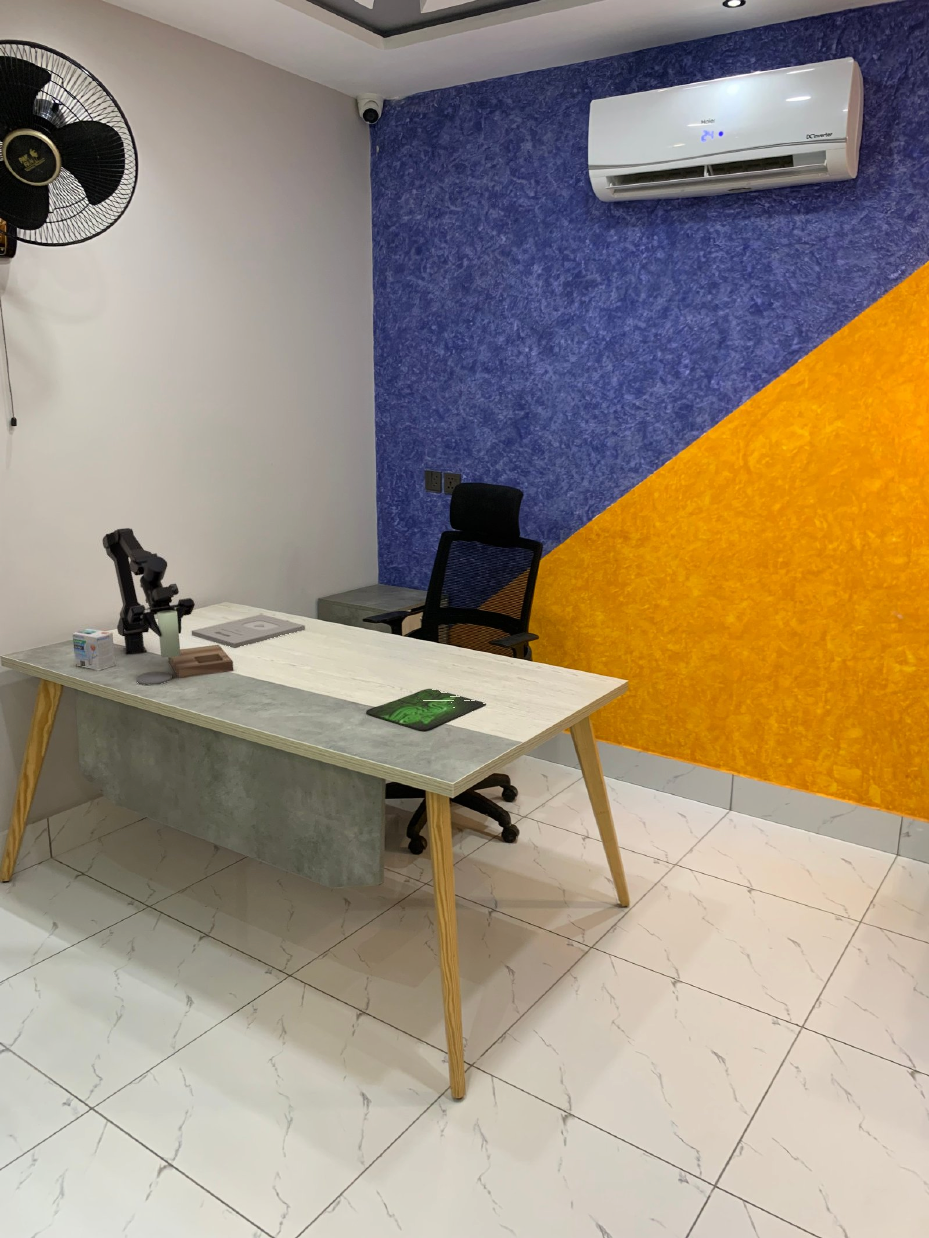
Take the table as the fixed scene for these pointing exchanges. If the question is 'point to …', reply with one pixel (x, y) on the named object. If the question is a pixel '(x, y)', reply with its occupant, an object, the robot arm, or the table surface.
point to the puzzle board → (201, 661)
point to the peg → (169, 633)
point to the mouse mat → (425, 709)
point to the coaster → (154, 678)
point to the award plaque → (247, 630)
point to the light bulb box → (94, 648)
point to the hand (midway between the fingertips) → (170, 634)
